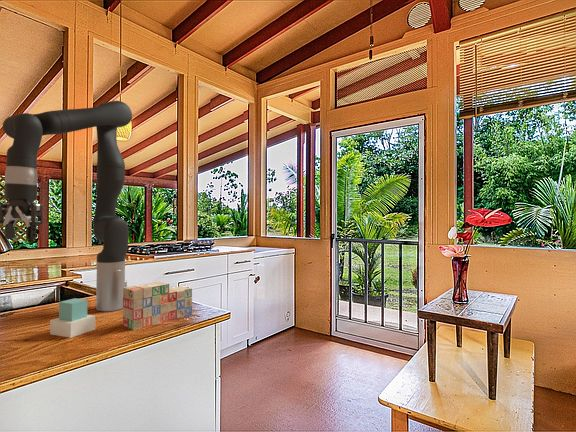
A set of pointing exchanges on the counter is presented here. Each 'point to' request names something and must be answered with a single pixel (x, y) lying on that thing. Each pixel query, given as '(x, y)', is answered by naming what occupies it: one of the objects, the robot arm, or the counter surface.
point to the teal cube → (72, 309)
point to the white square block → (72, 326)
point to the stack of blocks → (154, 304)
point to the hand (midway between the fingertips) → (20, 239)
